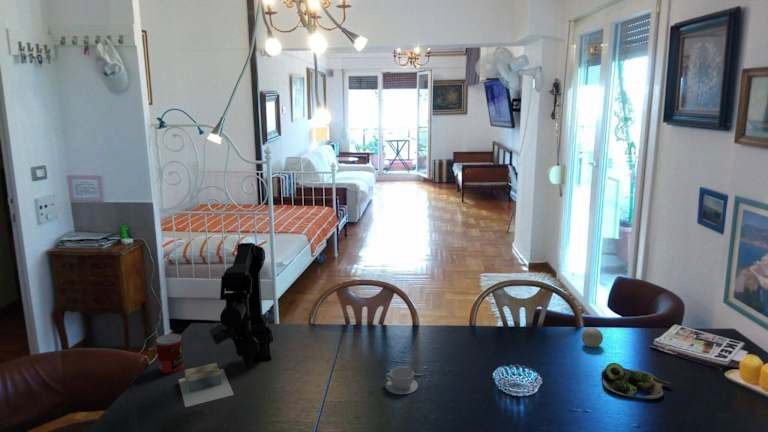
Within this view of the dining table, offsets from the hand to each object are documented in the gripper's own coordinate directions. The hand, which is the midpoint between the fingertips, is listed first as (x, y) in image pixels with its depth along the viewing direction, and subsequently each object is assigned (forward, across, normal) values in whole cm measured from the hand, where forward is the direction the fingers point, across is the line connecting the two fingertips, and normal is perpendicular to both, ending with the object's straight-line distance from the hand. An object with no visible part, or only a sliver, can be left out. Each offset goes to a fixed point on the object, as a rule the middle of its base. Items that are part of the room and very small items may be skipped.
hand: (243, 362), depth 161 cm
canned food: (+12, -31, -18) cm, 38 cm away
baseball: (+12, +24, +115) cm, 118 cm away
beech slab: (+10, -12, -10) cm, 19 cm away
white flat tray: (+12, -13, -10) cm, 20 cm away
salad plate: (+13, +48, +105) cm, 116 cm away
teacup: (+12, +16, +44) cm, 48 cm away
